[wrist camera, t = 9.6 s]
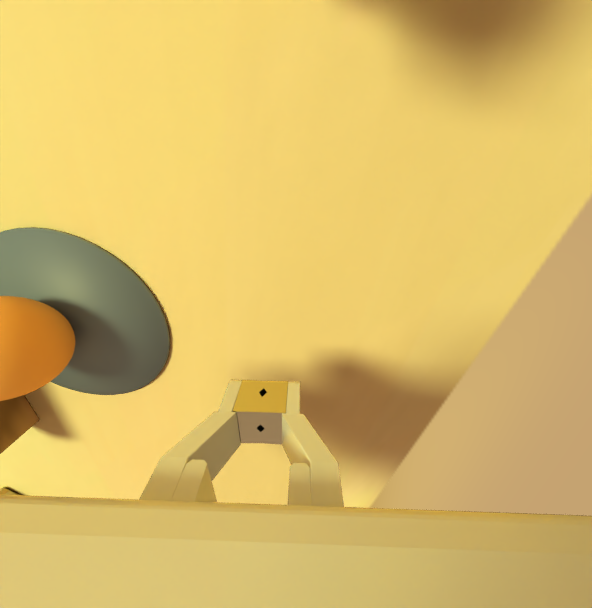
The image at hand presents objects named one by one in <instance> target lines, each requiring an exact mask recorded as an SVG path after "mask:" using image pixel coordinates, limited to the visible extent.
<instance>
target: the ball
mask: <svg viewBox="0 0 592 608" xmlns="http://www.w3.org/2000/svg"><path fill="white" fill-rule="evenodd" d="M74 349H75V334H74V331H73V328H72V326H71V324H70V323H69V321H68V320H67V319H66V318H65V317H64V316H63V315H62V314H61V313H60V312H59V311H57V310H56V309H54V308H52V307H50V306H49V305H47V304H44V303H42V302H39V301H36V300H32V299H28V298H23V297H15V296H0V401H3V400H8V399H12V398H16V397H19V396H22V395H25V394H28V393H30V392H33V391H35V390H37V389H39V388H40V387H42V386H44V385H46V384H47V383H49V382H50V381H52V380H53V379H54V378H56V377H57V376H58V375H59V374H60V373H61V372H62V371H63V370H64V368H65V367H66V366H67V365H68V363H69V361H70V360H71V358H72V356H73V353H74Z"/></svg>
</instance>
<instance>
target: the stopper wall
mask: <svg viewBox="0 0 592 608" xmlns="http://www.w3.org/2000/svg"><path fill="white" fill-rule="evenodd" d="M38 421H39V418H38V417H37V415H36V414H35V412H34V411H33V409H32V407H31V406H30V404H29V403H28V401H27V399H26V398H25V396H24V395H22V396H19V397H16V398H12V399H8V400H3V401H0V454H1V453H2V452H3V451H4V450H5V449H6V448H8V447H9V446H10V445H11V444H12V443H13V442H15V441H16V440H17V439H18V438H19V437H20V436H21V435H23V434H24V433H25V432H26V431H27V430H28V429H30V428H31V427H32V426H33V425H34V424H35V423H36V422H38Z"/></svg>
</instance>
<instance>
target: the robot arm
mask: <svg viewBox="0 0 592 608" xmlns="http://www.w3.org/2000/svg"><path fill="white" fill-rule="evenodd" d="M241 443H268V444H282V446H283V448H284V450H285V452H286V454H287V456H288V458H289V461H290V463H291V466H290V473H289V490H288V505H275V504H247V503H219V502H217V500H216V497H215V493H214V489H213V485H212V480H213V479H214V478H215V476H216V475H217V474H218V473H219V471H220V470H221V469H222V468H223V466H224V465H225V464H226V462H227V461H228V460H229V459H230V457H231V456H232V455H233V454H234V452H235V451H236V450H237V448H238V447H239V446H240V445H241ZM0 608H592V516H583V515H581V516H580V515H555V514H527V513H498V512H470V511H469V512H468V511H442V510H413V509H411V510H410V509H384V508H357V507H344V503H343V496H342V488H341V480H340V473H339V465H338V462H337V461H336V459H335V458H334V457H333V455H332V454H331V452H330V451H329V450H328V448H327V447H326V445H325V444H324V442H323V441H322V440H321V438H320V437H319V435H318V434H317V432H316V431H315V430H314V428H313V427H312V425H311V424H310V422H309V421H308V420H307V418H306V417H305V415H304V414H300V381H289V382H288V381H257V380H234V379H231V381H230V382H229V384H228V387H227V389H226V392H225V395H224V397H223V400H222V403H221V406H220V408H219V411H215V412H213V413H212V414H211V415H210V416H209V417H208V418H206V419H205V420H204V421H203V422H202V423H201V424H199V425H198V426H197V427H196V428H195V429H194V430H192V431H191V432H190V433H189V434H188V435H187V436H185V437H184V438H183V439H182V440H181V441H179V442H178V443H177V444H176V445H175V446H174V447H172V448H171V449H170V450H169V451H168V452H167V453H165V454H164V455H163V456H162V457H161V459H160V460H159V462H158V464H157V466H156V468H155V470H154V472H153V474H152V476H151V478H150V480H149V482H148V484H147V485H146V487H145V489H144V491H143V493H142V495H141V497H140V499H139V500H134V499H106V498H78V497H50V496H22V495H0Z"/></svg>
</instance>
